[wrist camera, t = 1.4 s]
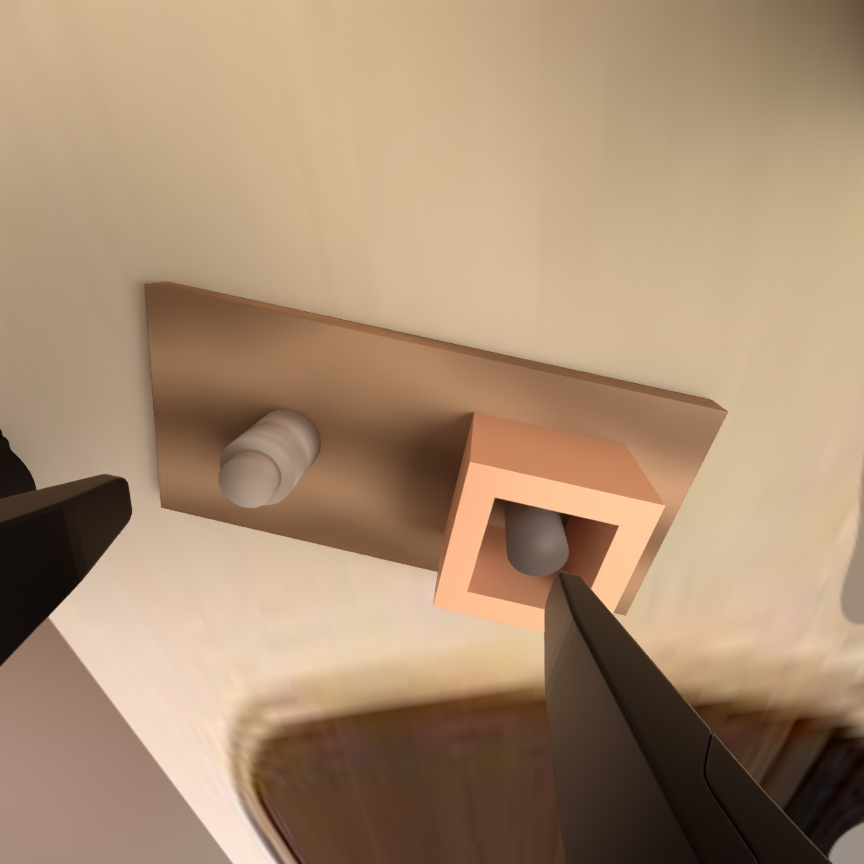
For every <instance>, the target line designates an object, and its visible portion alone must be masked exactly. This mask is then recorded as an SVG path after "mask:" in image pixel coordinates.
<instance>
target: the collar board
mask: <svg viewBox="0 0 864 864" xmlns="http://www.w3.org/2000/svg"><path fill="white" fill-rule="evenodd" d="M145 295H146V308H147V322H148V336H149V349H150V363H151V377H152V390H153V404H154V418H155V431H156V445H157V459H158V472H159V486H160V500H161V508H165V509H170V510H174V511H178V512H183V513H187V514H191V515H195V516H200V517H204V518H208V519H213V520H217V521H221V522H226V523H230V524H234V525H238V526H243V527H247V528H251V529H256V530H260V531H264V532H269V533H273V534H277V535H281V536H286V537H290V538H294V539H299V540H303V541H307V542H312V543H316V544H320V545H324V546H329V547H333V548H337V549H342V550H346V551H350V552H355V553H359V554H363V555H367V556H372V557H376V558H380V559H385V560H389V561H393V562H398V563H402V564H406V565H410V566H415V567H419V568H423V569H428V570H432V571H436V572H438V569H439V562H440V556H441V549H442V543H443V536H444V531H445V527H446V523H447V519H448V515H449V511H450V507H451V503H452V499H453V495H454V491H455V487H456V483H457V479H458V475H459V471H460V467H461V463H462V459H463V455H464V451H465V447H466V443H467V439H468V435H469V431H470V427H471V423H472V419H473V415H474V412H477V413H482V414H486V415H491V416H495V417H500V418H504V419H509V420H513V421H518V422H522V423H527V424H531V425H536V426H540V427H545V428H549V429H554V430H558V431H563V432H567V433H572V434H576V435H581V436H586V437H590V438H595V439H599V440H604V441H608V442H613V443H617V444H622V445H626V447H627V448H628V450H629V451H630V453H631V454H632V456H633V457H634V459H635V460H636V462H637V463H638V465H639V466H640V468H641V469H642V471H643V472H644V474H645V475H646V477H647V479H648V480H649V482H650V483H651V485H652V486H653V488H654V489H655V491H656V492H657V494H658V495H659V497H660V498H661V500H662V501H663V503H664V504H665V508H664V510H663V512H662V514H661V516H660V518H659V520H658V522H657V524H656V526H655V528H654V530H653V532H652V534H651V536H650V538H649V540H648V543H647V545H646V547H645V549H644V551H643V553H642V555H641V557H640V559H639V561H638V563H637V565H636V567H635V569H634V571H633V573H632V575H631V578H630V580H629V582H628V584H627V586H626V588H625V590H624V592H623V594H622V596H621V598H620V600H619V602H618V604H617V606H616V608H615V610H614V612H613V613H617V614H621V615H625V616H626V614H627V612H628V610H629V608H630V606H631V604H632V602H633V600H634V598H635V596H636V594H637V592H638V590H639V588H640V586H641V584H642V582H643V580H644V578H645V576H646V574H647V572H648V570H649V568H650V566H651V564H652V562H653V560H654V558H655V556H656V554H657V552H658V550H659V548H660V546H661V544H662V542H663V540H664V538H665V536H666V534H667V532H668V530H669V528H670V526H671V524H672V522H673V520H674V518H675V516H676V514H677V512H678V510H679V508H680V506H681V504H682V502H683V500H684V499H685V497H686V495H687V493H688V491H689V489H690V487H691V485H692V483H693V481H694V479H695V477H696V475H697V473H698V471H699V469H700V467H701V465H702V463H703V461H704V459H705V457H706V455H707V453H708V451H709V449H710V447H711V445H712V443H713V441H714V439H715V437H716V435H717V433H718V431H719V429H720V427H721V425H722V423H723V421H724V419H725V417H726V415H727V413H728V411H726V410H725V409H724V408H722V407H721V406H719V405H718V404H717V403H715V402H714V401H713V400H709V399H704V398H700V397H695V396H691V395H686V394H681V393H677V392H672V391H668V390H663V389H658V388H654V387H649V386H645V385H640V384H636V383H631V382H626V381H622V380H617V379H613V378H608V377H603V376H599V375H594V374H590V373H585V372H580V371H576V370H571V369H567V368H562V367H557V366H553V365H548V364H544V363H539V362H534V361H530V360H525V359H521V358H516V357H511V356H507V355H502V354H498V353H493V352H488V351H484V350H479V349H475V348H470V347H465V346H461V345H456V344H452V343H447V342H442V341H438V340H433V339H429V338H424V337H420V336H415V335H410V334H406V333H401V332H397V331H392V330H387V329H383V328H378V327H374V326H369V325H364V324H360V323H355V322H351V321H346V320H341V319H337V318H332V317H328V316H323V315H318V314H314V313H309V312H305V311H300V310H295V309H291V308H286V307H282V306H277V305H272V304H268V303H263V302H259V301H254V300H249V299H245V298H240V297H236V296H231V295H226V294H222V293H217V292H213V291H208V290H204V289H199V288H194V287H190V286H185V285H181V284H176V283H171V282H160V283H153V284H145ZM569 518H570V514H566V513H561V512H557V511H552V510H548V509H543V508H539V507H535V506H530V505H526V504H521V503H517V502H513V501H508V500H504V499H499V498H495V499H494V502H493V505H492V509H491V512H490V516H489V519H488V522H487V524H488V525H492V526H496V527H501V528H505V531H506V548H507V557H508V560H509V562H510V563H511V565H512V566H513V567H514V568H515V569H516V570H518V571H519V572H521V573H523V574H526V575H530V576H546V575H549V574H552V573H554V572H556V571H558V570H559V569H560V568H562V567H563V565H564V564H565V563H566V561H567V559H568V555H569V548H568V544H567V540H566V536H565V532H564V531H565V528H566V525H567V523H568V520H569Z"/></svg>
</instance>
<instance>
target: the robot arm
mask: <svg viewBox="0 0 864 864" xmlns="http://www.w3.org/2000/svg"><path fill="white" fill-rule="evenodd" d="M131 515H132V506H131V499H130V492H129V485H128V482H127V481H126V479H124V478H122V477H118V476H113V475H108V474H102V475H98V476H94V477H89V478H85V479H81V480H77V481H73V482H69V483H65V484H61V485H56V486H52V487H48V488H44V489H40V490H36V486H35V483H34V480H33V477H32V475H31V473H30V472H29V470H28V468H27V467H26V465H25V464H24V463H23V462H22V461H21V459H20V458H19V457H18V456H17V455H16V454H14V453H13V452H12V451H11V449H10V446H9V442H8V440H7V439H6V438H5V437H3V435H2V431H1V429H0V666H1V665H2V664H3V663H4V662H5V661H6V660H7V659H8V658H9V657H10V656H11V655H12V654H13V653H14V651H16V650H17V649H18V648H19V647H20V645H21V644H22V643H23V642H24V641H25V640H26V639H27V638H28V637H29V636H30V635H31V634H32V633H33V632H34V631H35V630H36V629H37V628H38V627H39V626H40V625H41V623H42V622H43V621H44V620H45V619H46V618H47V617H48V616H49V615H50V614H51V613H52V612H53V611H54V610H55V609H56V608H57V607H58V606H59V605H60V604H61V603H62V602H63V600H64V599H65V598H66V597H67V596H68V595H69V594H70V593H71V592H72V591H73V590H74V589H75V588H76V587H77V585H78V584H79V583H80V582H81V581H82V580H83V579H84V577H85V576H86V575H87V574H88V573H89V571H90V570H91V569H92V567H93V566H94V565H95V564H96V562H97V561H98V560H99V559H100V557H101V556H102V555H103V554H104V552H105V551H106V550H107V549H108V547H109V546H110V545H111V544H112V542H113V541H114V540H115V539H116V537H117V536H118V535H119V534H120V532H121V531H122V530H123V529H124V527H125V526H126V525H127V523H128V522H129V520H130V518H131ZM544 642H545V694H546V705H547V713H548V721H549V730H550V738H551V747H552V755H553V764H554V772H555V781H556V789H557V798H558V806H559V814H560V823H561V831H562V840H563V848H564V857H565V864H832V863H831V861H830V860H829V859H828V858H827V857H826V856H825V855H824V854H823V853H822V852H821V851H820V850H819V849H818V848H817V847H816V846H815V845H814V844H813V843H812V842H811V841H810V840H809V839H808V837H807V836H806V835H805V834H804V833H803V832H802V831H801V830H800V829H799V828H798V827H797V826H796V825H795V824H794V823H793V821H792V820H791V819H790V818H789V817H788V816H787V815H786V814H785V813H784V812H783V811H782V810H781V809H780V808H779V806H778V805H777V804H776V803H775V802H774V801H773V800H772V799H771V798H770V797H769V796H768V795H767V794H766V792H765V791H764V790H763V789H762V788H761V787H760V786H759V785H758V783H757V782H756V781H755V780H754V779H753V778H752V777H751V775H750V774H749V773H748V772H747V771H746V770H745V769H744V767H743V766H742V765H741V764H740V763H739V762H738V761H737V760H736V758H735V757H734V756H733V755H732V754H731V753H730V751H729V750H728V749H727V748H726V747H725V746H724V744H723V743H722V742H721V741H720V740H719V738H718V737H717V736H716V735H714V734H711V729H710V728H709V727H708V726H707V725H706V723H705V722H704V721H703V720H702V719H701V718H700V716H699V715H698V714H697V713H696V712H695V710H694V709H693V708H692V707H691V706H690V705H689V703H688V702H687V701H686V700H685V699H684V698H683V696H682V695H681V694H680V693H679V692H678V690H677V689H676V688H675V687H674V686H673V685H672V683H671V682H670V681H669V680H668V679H667V678H666V676H665V675H664V674H663V673H662V672H661V671H660V669H659V668H658V667H657V666H656V665H655V663H654V662H653V661H652V660H651V659H650V658H649V656H648V655H647V654H646V653H645V652H644V651H643V649H642V648H641V647H640V646H639V645H638V643H637V642H636V641H635V640H634V639H633V638H632V636H631V635H630V634H629V633H628V632H627V631H626V629H625V628H624V627H623V626H622V625H621V623H620V622H619V621H618V620H617V619H616V618H615V616H614V615H613V614H612V613H611V612H610V611H609V609H608V608H607V607H606V606H605V605H604V604H603V602H602V601H601V600H600V599H599V598H598V596H597V595H596V594H595V593H594V592H593V591H592V589H591V588H590V587H589V586H588V585H587V584H586V582H585V581H584V580H583V579H582V578H581V577H580V576H579V575H577V574H573V573H569V572H564V571H559V572H557V574H556V575H555V577H554V580H553V583H552V586H551V589H550V591H549V594H548V597H547V600H546V604H545V611H544Z"/></svg>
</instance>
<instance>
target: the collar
mask: <svg viewBox="0 0 864 864" xmlns="http://www.w3.org/2000/svg"><path fill="white" fill-rule="evenodd" d="M495 498H499V499H504V500H508V501H513V502H517V503H521V504H526V505H530V506H535V507H539V508H543V509H548V510H552V511H557V512H561V513H566V514H570V518H569V520H568V523H567V525H566V528H565V531H564V532H565V536H566V540H567V544H568V548H569V555H568V559H567V561H566V563H565V564H564V565H563V567H562V568H560V569H559V570H558V571H556V572H554V573H552V574H549V575H546V576H530V575H526V574H523V573H521V572H519V571H518V570H516V569H515V568H514V567H513V566H512V565H511V563H510V562H509V560H508V557H507V548H506V531H505V528H501V527H496V526H492V525H488V524H487V522H488V519H489V516H490V512H491V509H492V505H493V502H494V499H495ZM664 508H665V504H664V503H663V501H662V500H661V498H660V497H659V495H658V494H657V492H656V491H655V489H654V488H653V486H652V485H651V483H650V482H649V480H648V479H647V477H646V475H645V474H644V472H643V471H642V469H641V468H640V466H639V465H638V463H637V462H636V460H635V459H634V457H633V456H632V454H631V453H630V451H629V450H628V448H627V447H626V445H622V444H617V443H613V442H608V441H604V440H599V439H595V438H590V437H586V436H581V435H576V434H572V433H567V432H563V431H558V430H554V429H549V428H545V427H540V426H536V425H531V424H527V423H522V422H518V421H513V420H509V419H504V418H500V417H495V416H491V415H486V414H482V413H477V412H474V415H473V419H472V423H471V427H470V431H469V435H468V439H467V443H466V447H465V451H464V455H463V459H462V463H461V467H460V471H459V475H458V479H457V483H456V487H455V491H454V495H453V499H452V503H451V507H450V511H449V515H448V519H447V523H446V527H445V531H444V536H443V543H442V549H441V556H440V562H439V569H438V576H437V582H436V589H435V595H434V602H433V607H438V608H442V609H446V610H450V611H455V612H459V613H463V614H468V615H472V616H476V617H480V618H485V619H489V620H493V621H497V622H502V623H506V624H510V625H514V626H519V627H523V628H527V629H531V630H536V631H540V632H544V611H545V604H546V600H547V597H548V594H549V591H550V589H551V586H552V583H553V580H554V577H555V575H556V574H557V572H559V571H564V572H569V573H573V574H577V575H579V576H580V577H581V578H582V579H583V580H584V581H585V582H586V584H587V585H588V586H589V587H590V588H591V589H592V591H593V592H594V593H595V594H596V595H597V596H598V598H599V599H600V600H601V601H602V602H603V604H604V605H605V606H606V607H607V608H608V609H609V611H610V612H611V613H612V614H613V612H614V610H615V608H616V606H617V604H618V602H619V600H620V598H621V596H622V594H623V592H624V590H625V588H626V586H627V584H628V582H629V580H630V578H631V575H632V573H633V571H634V569H635V567H636V565H637V563H638V561H639V559H640V557H641V555H642V553H643V551H644V549H645V547H646V545H647V543H648V540H649V538H650V536H651V534H652V532H653V530H654V528H655V526H656V524H657V522H658V520H659V518H660V516H661V514H662V512H663V510H664Z"/></svg>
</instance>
